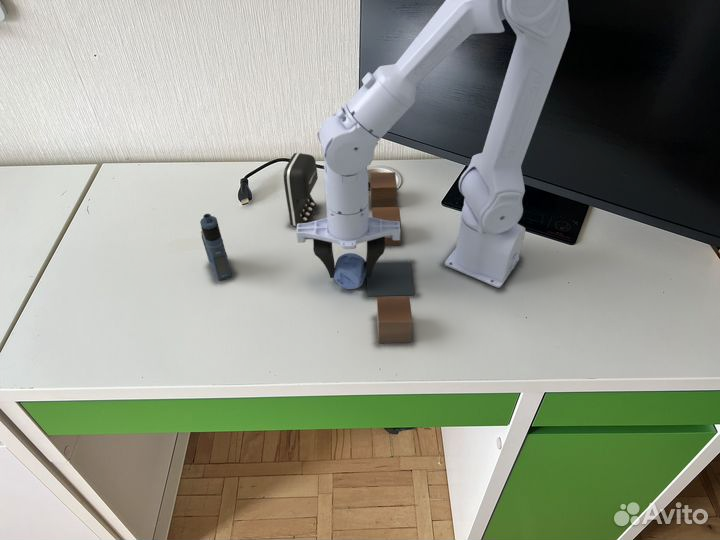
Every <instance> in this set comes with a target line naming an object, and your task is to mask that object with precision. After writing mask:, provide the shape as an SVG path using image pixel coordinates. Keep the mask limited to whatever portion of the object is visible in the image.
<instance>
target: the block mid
mask: <svg viewBox="0 0 720 540" xmlns="http://www.w3.org/2000/svg"><path fill="white" fill-rule="evenodd" d="M371 217H372V218H377V219H382V220H387V221H399V222H400V240H392V237H389V238H385V247H386V246H401V241H402V240H401V238H402V219H401V210H400V206H396V207H378V208H371Z"/></svg>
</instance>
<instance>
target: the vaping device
mask: <svg viewBox="0 0 720 540" xmlns="http://www.w3.org/2000/svg"><path fill="white" fill-rule="evenodd" d="M199 224H200V228H201V231H200V234H201V241H202V243H203V246H204V250H205V253H206V256H207V260H208V262H209V263H210V266H211V269H212V272H213V273H214V275H215V278H216V279H217V280H218V281H223V280H227V279H229V278H230V277H232V275H233V274H232V270H231V267H230V262H229V259H228V254H227V251H226V247H225V245H224V239H223V237H222V234H221V229H220V226H219V222H218V218H217V217H216V216H213V215H211V214H210V213H205V214H204V215H203V217H202V218H201V219H200V221H199Z"/></svg>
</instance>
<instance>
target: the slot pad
mask: <svg viewBox="0 0 720 540" xmlns="http://www.w3.org/2000/svg"><path fill="white" fill-rule="evenodd" d="M412 274H413V273H412V267H411V262H408V261H406V262H405V261H403V262H376V263H375V265H374V268H373V270H372V274H371V277H366V290H367V291H366V294H367V297H370V298H371V297H410V296H415V289H414V283H413V275H412Z"/></svg>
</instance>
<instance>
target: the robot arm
mask: <svg viewBox="0 0 720 540" xmlns="http://www.w3.org/2000/svg"><path fill="white" fill-rule="evenodd" d="M568 1H569V0H445V1H444V2H443V3H442V4H441V5H440V7H439V8H438V10H436V12H435V13H434V15H433V16H432V17H430V19H429V21H428V22H427V23H426V24H425V26H424V27H423V28H422V30H420V32H419V34H418V35H417V36H416V37H415V39H414V40H413V41H412V42H411V43H410V45H409V46H408V48H407V49H406V50H405V51H404V53H402V55H401V56H400V57H399V59H398V60H397V61H396V63H392V64H386V65H380V66H378V67H377V69H376V70H375V71H374V72H373V73H371V72H369V71H368V72H367V73H366V74H365V75H364V76H363V78H362V79H361V82H362V86H361V87H360V88H359V89H358V90H357V91H356V92H355V94H354V95H353V96H352V97H351V98H350V100H349V101H348V102H347V103H346V104H345V105H344V106H340V107H339V108H338V109H337V110H336V111H335V113H333V114H331V115H329V116H327V117H326V118H324V120H323V121H322V123H321V125H320V126H319V131H318V132H316V135H317V139H318V141H319V144H320V145H321V149H322V153H323V161H324V162H323V171H324V172H323V180H324V182H323V183H324V194H325V195H324V196H325V205H326V206H325V208H326V217H325V218H322V219H318V220H313V221H310V222H309V223H302V224H297V226H296V240H297V241H296V242H297V243H298V244H300V243H301V244H303V243H306V240H312V242H313V243H312V245H313V247H312V248H313V249H312V251H313V253H314V255H315V257H317V258H318V259H319V260H320V261H321V263H322V264H323V265H324V267H325V269H326V271H327V273H328V275H329V279H334V270H335V265H336V262H335V257H334V251H333V250H334V249H333V244H337V245H340V249H342V250H355V249H356V248H357V245H358V244H362V243H366V258H365V261H366V273H365V278H367V277H371V274H372V270H373V268H374V265H375V263H378V260H379V259H380V258H381V256H382V255H384V253H385V250H386V246H385V238H389V237H392V240H400V222H399V221H387V220H382V219H377V218H372V216H369V171H368V167H369V166H371V164H372V162H373V161H374V158H375V157H374V156H375V149H376V147H377V146H378V145H379V143H378V142H379V141H380V140H381V139H382V138H383V137H384V136H385V135H386V134H387V133H388V132H389V131H390V129H391V128H393V126H395V124H396V123H397V122H398V121H399V120H400V119H401V118H402V117H403V116H404V115H405V114H406V112H408V111H409V109H411V107H412V106H413V105H414V104H415V103H416V95H417V94H416V93H417V87H418V85H419V84H420V83H421V82H423V81H424V80H425V78H426V77H428V76H429V75H430V74H431V73H432V72H433V71H434V70H435V69H436V68H437V67H438V66H439V65H440V64H441V63H442V62H443V61H444V60H445V59H446V58H447V57H448V56H449V55H451V54H452V53H453V52H454V51H455V50H456V49H457V48H458V47H459V46H460V45H461V44H462V43H463V42H464V41H465V40H466V39H468V37H469V36H471V35H474V34H476V35H477V34H500V33H504V32H505V27H504V24H503V21H504V20H506V22H507V23H508V25H509V26H510V27H511V29H512V31H513V32H514V33H515V35H516V40H515V44H514V47H513V51H512V54H511V57H510V60H509V64H508V67H507V70H506V73H505V76H504V80H503V82H502V83H503V84H502V86H501V90H500V93H499V97H498V100H497V103H496V107H495V109H494V113H493V117H492V120H491V123H490V126H489V129H488V133H487V136H486V139H485V142H484V145H483V149H482V152H479V153H477V154H474V155H473V156H471V160H470V162H469V165H468V167H467V168H466V170H464V171H463V173H462V174H461V176H460V177H459V180H458V189H459V192H460V194H461V195H462V196H463V197H464V198H463V206H462V208H461V215H460V221H459V227H458V233H457V241H456V246H455V249H454V250H453V251H452V252H451V253H450V255H449V256H448V257H447V258H446V260H445V261H444V266H445V267H448V268H450V269H453V270H455V271H457V272H460V273H462V274H464V275H467V276H469V277H472V278H473V279H476V280H479V281H481V282H483V283H485V284H488V285H490V286H492V287H495V288H498V289H499V288H502V286H503V285H504V283H505V282H506V280H507V279H508V277H509V275H510V274H511V273H512V271H513V270H514V269H515V267H516V265H517V263H518V262H519V260H520V254H521V251H522V247H523V242H524V240H525V235H526V227H524V226H523V225H521V224H519V223H518V222H520V220H521V218H522V217H523V213H524V206H523V198H524V195H525V194H526V193H525V192H526V189H525V182H524V178H523V172H522V164H523V163H524V162H523V161H524V159H525V156H526V154H527V151H528V148H529V145H530V143H531V139H532V137H533V134H534V132H535V129H536V126H537V123H538V121H539V118H540V116H541V113H542V110H543V108H544V105H545V102H546V99H547V97H548V94H549V92H550V89H551V86H552V83H553V80H554V77H555V75H556V72H557V70H558V66H559V64H560V61H561V59H562V56H563V53H564V51H565V48H566V45H567V42H568V39H569V37H570V32H571V22H570V21H571V20H570V11H569V2H568ZM400 241H401V240H400Z"/></svg>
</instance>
